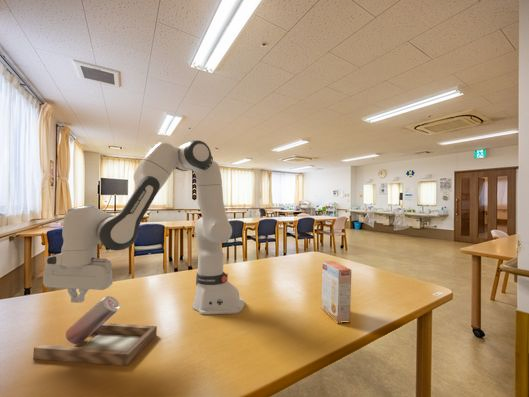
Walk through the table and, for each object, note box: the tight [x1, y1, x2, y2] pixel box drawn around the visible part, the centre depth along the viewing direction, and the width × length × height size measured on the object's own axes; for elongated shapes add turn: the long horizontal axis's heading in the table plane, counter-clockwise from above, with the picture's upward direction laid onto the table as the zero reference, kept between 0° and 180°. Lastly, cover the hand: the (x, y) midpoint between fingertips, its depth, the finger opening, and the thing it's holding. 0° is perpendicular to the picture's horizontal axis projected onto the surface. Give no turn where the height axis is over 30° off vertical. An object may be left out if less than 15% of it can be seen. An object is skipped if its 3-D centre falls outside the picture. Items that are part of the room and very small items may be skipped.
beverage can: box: [65, 295, 120, 345], centre depth 73 cm, size 6×6×15 cm
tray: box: [32, 322, 158, 367], centre depth 72 cm, size 28×15×3 cm, turn 86°
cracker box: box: [321, 260, 352, 322], centre depth 98 cm, size 14×6×21 cm, turn 12°
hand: (77, 301), depth 73 cm, fingers closed
